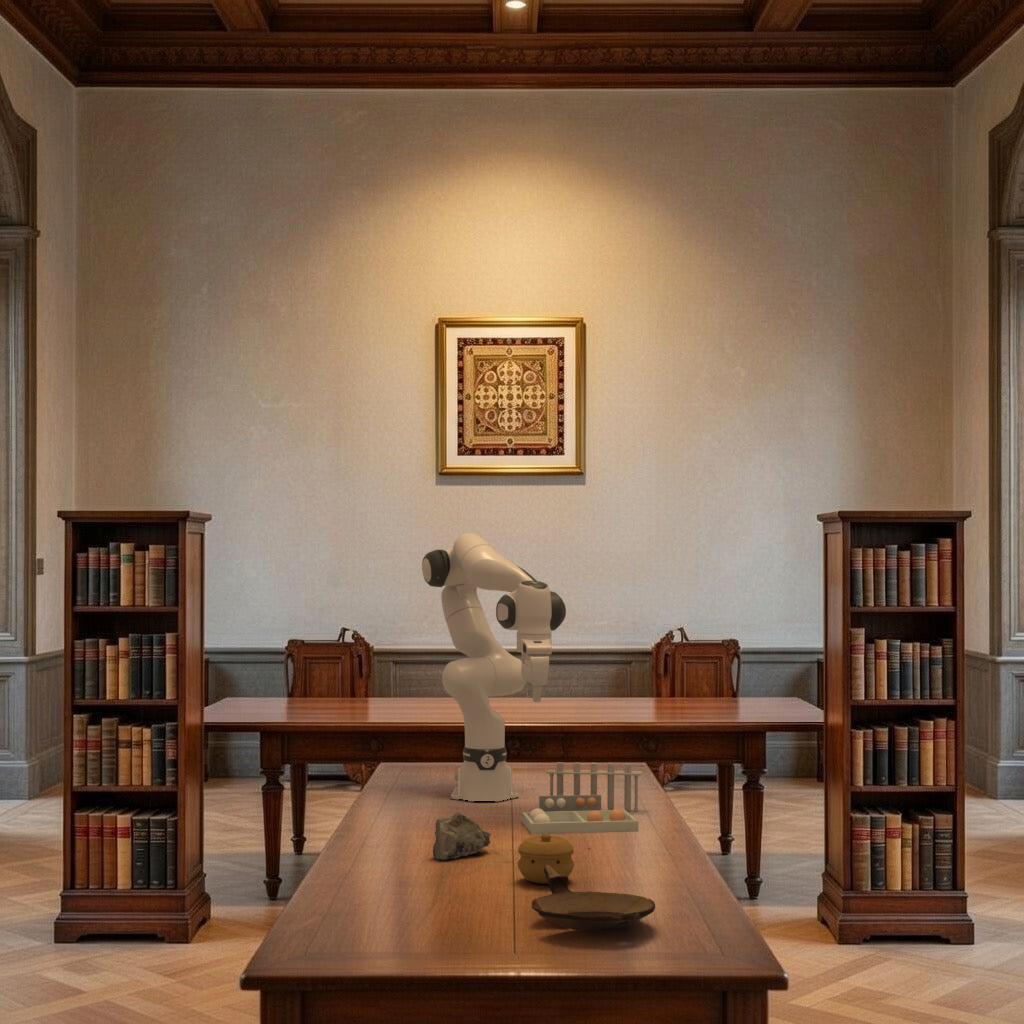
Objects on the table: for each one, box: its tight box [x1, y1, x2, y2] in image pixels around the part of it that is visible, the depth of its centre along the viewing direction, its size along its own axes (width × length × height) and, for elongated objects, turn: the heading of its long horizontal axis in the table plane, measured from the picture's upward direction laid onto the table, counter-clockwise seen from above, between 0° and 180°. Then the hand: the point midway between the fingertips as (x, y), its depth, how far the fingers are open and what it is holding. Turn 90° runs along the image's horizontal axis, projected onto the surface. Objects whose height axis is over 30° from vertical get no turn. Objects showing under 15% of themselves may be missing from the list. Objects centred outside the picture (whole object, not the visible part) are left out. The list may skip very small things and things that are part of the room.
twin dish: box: [521, 809, 639, 835], centre depth 341 cm, size 15×26×3 cm, turn 98°
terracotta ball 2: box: [609, 808, 625, 821], centre depth 343 cm, size 4×4×4 cm
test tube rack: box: [545, 761, 643, 815], centre depth 362 cm, size 25×4×13 cm, turn 85°
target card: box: [538, 794, 602, 812], centre depth 354 cm, size 1×16×6 cm, turn 98°
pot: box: [517, 833, 575, 885], centre depth 287 cm, size 12×12×10 cm
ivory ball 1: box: [530, 807, 545, 822], centre depth 343 cm, size 4×4×4 cm
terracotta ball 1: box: [587, 810, 603, 822], centre depth 341 cm, size 4×4×4 cm
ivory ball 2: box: [534, 813, 550, 823], centre depth 337 cm, size 4×4×4 cm
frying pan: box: [531, 865, 656, 932], centre depth 255 cm, size 22×30×8 cm
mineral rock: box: [432, 811, 492, 861], centre depth 310 cm, size 13×11×10 cm
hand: (533, 699), depth 350 cm, fingers open, 8 cm apart
